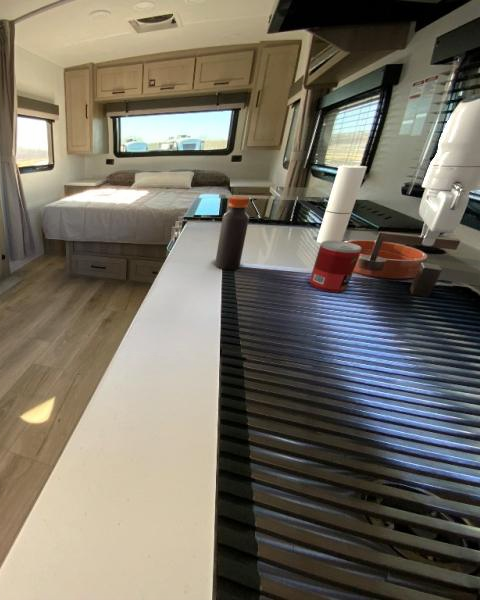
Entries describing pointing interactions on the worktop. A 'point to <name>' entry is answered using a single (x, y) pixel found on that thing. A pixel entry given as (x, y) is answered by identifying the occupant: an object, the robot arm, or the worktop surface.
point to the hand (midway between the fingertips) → (425, 243)
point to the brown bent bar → (378, 263)
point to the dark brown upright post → (425, 279)
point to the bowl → (392, 259)
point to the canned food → (334, 265)
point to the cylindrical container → (341, 203)
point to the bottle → (232, 234)
